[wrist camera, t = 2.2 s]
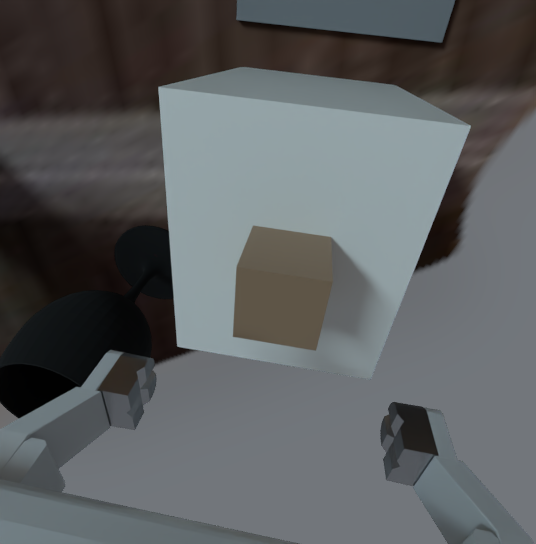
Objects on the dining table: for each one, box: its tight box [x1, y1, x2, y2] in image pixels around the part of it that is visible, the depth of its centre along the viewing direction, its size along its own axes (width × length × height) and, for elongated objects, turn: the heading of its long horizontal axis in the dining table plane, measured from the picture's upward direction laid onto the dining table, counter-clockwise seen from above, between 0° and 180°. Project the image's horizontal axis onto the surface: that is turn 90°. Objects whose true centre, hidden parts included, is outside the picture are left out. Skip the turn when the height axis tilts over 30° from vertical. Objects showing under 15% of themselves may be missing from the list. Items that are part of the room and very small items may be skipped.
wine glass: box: [0, 226, 174, 418], centre depth 34 cm, size 10×10×20 cm
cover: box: [158, 67, 471, 380], centre depth 24 cm, size 13×16×22 cm
